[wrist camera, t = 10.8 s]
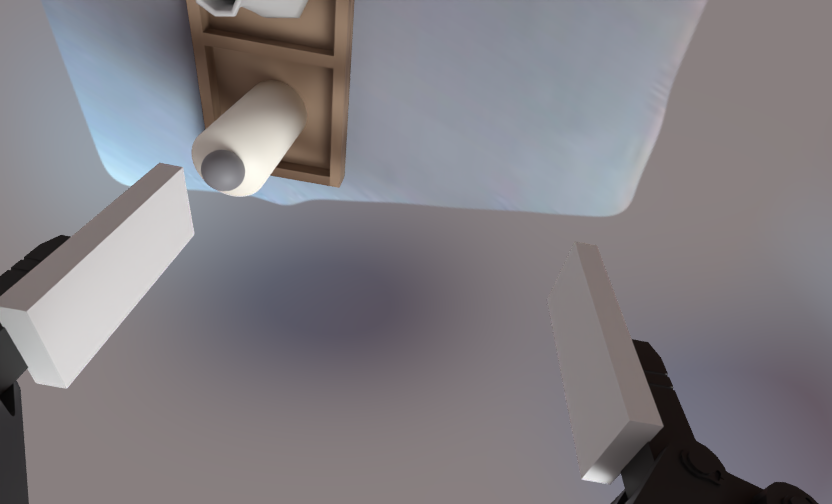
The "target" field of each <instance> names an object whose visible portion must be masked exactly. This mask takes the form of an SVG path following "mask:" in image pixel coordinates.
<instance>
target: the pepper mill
mask: <svg viewBox="0 0 832 504" xmlns="http://www.w3.org/2000/svg"><path fill="white" fill-rule="evenodd" d="M306 121H307V110H306V107H305V104H304V102H303V100H302V98H301V96H300V95H299V94H298V93H297V92H296V91H295V90H294V89H293V88H292V87H290V86H289V85H287V84H285V83H283V82H280V81H276V80H266V81H263V82H260V83H258V84H257V85H255V86H254V87H253V88H252V89H251V90H250V91H249V92H247V93H246V94H245V95H244V96H243V97H242V98H241V99H240V100H238V101H237V102H236V103H235V104H234V105H233V106H232V107H230V108H229V109H228V110H227V111H226V112H225V113H224V114H222V115H221V116H220V117H219V118H218V119H217V120H216V121H215V122H213V123H212V124H211V125H210V126H209V127H208V128H207V129H205V130H204V131H203V132H202V133H201V134H200V135H199V136H198V137H197V138H196V139H195V141H194V143H193V146H192V160H193V163H194V166H195V168H196V170H197V172H198V173H199V175H200V176H201V177H202V178H203V179H204V181H205V182H206V183H207V184H208V185H209V186H210V187H212V188H213V189H216V190H218V191H220V192H222V193H224V194H227V195H231V196H238V197H242V196H248V195H251V194H254V193H255V192H257V191H258V190H259V189H260V188H261V187H262V186H263V184H264V183H265V182H266V180H267V179H268V177H269V176H270V175H271V173H272V172H273V170H274V169H275V168H276V166H277V165H278V163H279V162H280V161H281V159H282V158H283V156H284V155H285V154H286V152H287V151H288V150H289V148H290V147H291V145H292V144H293V143H294V141H295V140H296V138H297V137H298V136H299V134H300V133H301V131H302V130H303V128H304V127H305V124H306Z"/></svg>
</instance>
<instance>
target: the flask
mask: <svg viewBox="0 0 832 504" xmlns="http://www.w3.org/2000/svg"><path fill="white" fill-rule="evenodd" d="M307 2H308V0H196V3H197V4H198V5H200V6H201V7H203V8H204V9H205V10H207V11H208V12H210V13H211V14H212V15H214V16H233V17H234V16H236V15H237V13H238V10H239V8H240V7H243V8H246V9H248V10H251V11H253V12H255V13H256V14H258V15H260V16H262V17H264V18H300V16H301V14H302V12H303V10H304V8H305V6H306V4H307Z"/></svg>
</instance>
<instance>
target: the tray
mask: <svg viewBox="0 0 832 504" xmlns="http://www.w3.org/2000/svg"><path fill="white" fill-rule="evenodd" d="M186 2H187V9H188V16H189V23H190V29H191V36H192V43H193V50H194V56H195V63H196V70H197V77H198V83H199V90H200V97H201V104H202V110H203V117H204V124H205V129H207V128H208V127H209V126H210V125H211V124H212V123H213V122H215V121H216V120H217V119H218V118H219V117H220V116H221V115H222V114H224V113H225V112H226V111H227V110H228V109H229V108H230V107H232V106H233V105H234V104H235V103H236V102H237V101H238V100H240V99H241V98H242V97H243V96H244V95H245V94H246V93H247V92H249V91H250V90H251V89H252V88H253V87H254V86H255V85H257V84H258V83H260V82H263V81H266V80H276V81H280V82H283V83H285V84H287V85H289V86H290V87H292V88H293V89H294V90H295V91H296V92H297V93H298V94H299V95H300V96H301V98H302V100H303V102H304V104H305V107H306V110H307V121H306V124H305V127H304V128H303V130H302V131H301V133H300V134H299V136H298V137H297V138H296V140H295V141H294V143H293V144H292V145H291V147H290V148H289V150H288V151H287V152H286V154H285V155H284V156H283V158H282V159H281V161H280V162H279V163H278V165H277V166H276V168H275V169H274V170H273V172H272V173H271V176H276V177H282V178H288V179H293V180H299V181H305V182H310V183H316V184H322V185H327V186H333V187H339V188H340V185H341V183H342V181H343V179H344V175H345V158H346V140H347V122H348V105H349V87H350V69H351V51H352V34H353V16H354V0H308V2H307V4H306V6H305V8H304V10H303V12H302V14H301V16H300V18H264V17H262V16H260V15H258V14H256V13H255V12H253V11H251V10H248V9H246V8H243V7H240V8H239V10H238V13H237V15H236V16H234V17H233V16H214V15H212V14H211V13H210V12H208V11H207V10H205V9H204V8H203V7H201V6H200V5H198V4H197V3H196V0H186Z"/></svg>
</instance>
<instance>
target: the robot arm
mask: <svg viewBox="0 0 832 504" xmlns="http://www.w3.org/2000/svg"><path fill="white" fill-rule="evenodd" d="M193 236H194V229H193V223H192V218H191V212H190V206H189V200H188V195H187V188H186V183H185V177H184V171H183V167H179V166H174V165H169V164H163V163H159V164H157V165H156V166H155V167H154V168H153V169H151V170H150V171H149V172H148V173H147V174H145V175H144V176H143V177H142V178H141V179H140V180H138V181H137V182H136V183H135V184H134V185H132V186H131V187H130V188H129V189H128V190H126V191H125V192H124V193H123V194H122V195H120V196H119V197H118V198H117V199H116V200H114V201H113V202H112V203H111V204H110V205H109V206H107V207H106V208H105V209H104V210H103V211H102V212H100V213H99V214H98V215H97V216H95V217H94V218H93V219H92V220H91V221H89V222H88V223H87V224H86V225H85V226H84V227H82V228H81V229H80V230H79V231H78V232H76V233H75V234H74V235H73V236H72V237H70V236H64V235H60V236H58V237H55V238H53V239H51V240H49V241H47V242H45V243H42V244H40V245H39V246H38V247H36V248H35V249H34V250H32V251H31V252H30V253H29V254H27V255H26V256H25V257H24V260H20V261H19V262H18V263H16V264H15V265H14V266H13V267H11V270H7V271H6V272H5V273H4V274H2V275H1V276H0V504H29V502H28V486H27V473H26V459H25V445H24V431H23V418H22V404H21V390H20V387H19V385H18V382H17V381H16V380H17V379H18V378H19V377H20V375H21V374H23V372H24V371H25V370H26V369H28V370H29V372H30V374H31V376H32V377H33V379H34V381H35V382H36V383H38V384H44V385H50V386H55V387H61V388H68V387H69V385H70V384H71V383H72V382H73V380H74V379H75V378H76V377H77V376H78V374H79V373H80V372H81V371H82V370H83V368H84V367H85V366H86V365H87V363H88V362H89V361H90V360H91V359H92V358H93V356H94V355H95V354H96V353H97V352H98V350H99V349H100V348H101V347H102V346H103V344H104V343H105V342H106V340H107V339H108V338H109V337H110V336H111V335H112V333H113V332H114V331H115V330H116V328H117V327H118V326H119V325H120V324H121V323H122V321H123V320H124V319H125V318H126V317H127V315H128V314H129V313H130V312H131V310H132V309H133V308H134V307H135V306H136V304H137V303H138V302H139V301H140V300H141V298H142V297H143V296H144V295H145V294H146V292H147V291H148V290H149V289H150V288H151V286H152V285H153V284H154V283H155V282H156V280H157V279H158V278H159V277H160V276H161V274H162V273H163V272H164V271H165V269H166V268H167V267H168V266H169V265H170V263H171V262H172V261H173V260H174V259H175V257H176V256H177V255H178V254H179V253H180V251H181V250H182V249H183V248H184V246H185V245H186V244H187V243H188V242H189V240H190V239H191V238H192V237H193ZM547 304H548V309H549V314H550V319H551V324H552V329H553V334H554V339H555V345H556V350H557V355H558V361H559V365H560V371H561V376H562V381H563V386H564V392H565V397H566V402H567V407H568V412H569V418H570V423H571V428H572V433H573V438H574V444H575V449H576V454H577V459H578V464H579V470H580V475H581V479H582V480H589V481H594V482H600V483H605V484H611V483H612V482H613V481H614V480H615V479H616V478H617V477H618V476H619V475H620V474H621V475H622V479H623V483H624V486H625V489H624V491H622V493H621V494H620V495H619V496H618V497H617V498H616V499H615V500H614V501H613V502H612V503H611V504H818V503H817V502H816V501H815V500H814V499H813V498H812V497H811V496H809V495H808V494H807V493H805V492H804V491H802V490H801V489H799V488H798V487H796V486H793V485H791V484H788V483H785V482H774V483H773V484H771V485H769V486H768V487H767V488H765V489H761V488H759V487H757V486H755V485H753V484H751V483H749V482H747V481H744V480H742V479H740V478H738V477H736V476H734V475H732V474H730V473H728V472H727V471H726V470H725V467H724V466H723V464H722V463H721V462H720V460H719V459H718V457H717V456H716V455H715V454H714V453H713V452H712V451H710V450H709V449H708V448H707V447H706V446H704V445H702V444H701V443H699V442H697V441H696V440H695V438H694V435H693V433H692V430H691V428H690V426H689V423H688V421H687V419H686V416H685V414H684V411H683V409H682V407H681V405H680V402H679V400H678V397H677V395H676V392H675V391H674V390H673V385H672V383H671V380H670V378H669V377H667V375H668V373H667V371H666V368H665V366H664V364H663V361H662V359H661V357H660V356H659V355H658V354H657V352H656V351H655V350H654V349H653V348H652V346H651V345H650V344H649V343H648V342H644V341H638V340H633V339H631V337H630V334H629V331H628V328H627V326H626V323H625V320H624V318H623V315H622V312H621V310H620V307H619V304H618V301H617V299H616V296H615V293H614V291H613V288H612V285H611V282H610V280H609V277H608V274H607V271H606V269H605V266H604V263H603V261H602V258H601V255H600V252H599V250H598V247H597V246H596V245H590V244H585V243H580V242H574V244H573V246H572V248H571V250H570V253H569V255H568V257H567V259H566V261H565V263H564V265H563V267H562V269H561V271H560V274H559V276H558V278H557V280H556V282H555V284H554V286H553V288H552V290H551V293H550V295H549V297H548V299H547Z"/></svg>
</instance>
